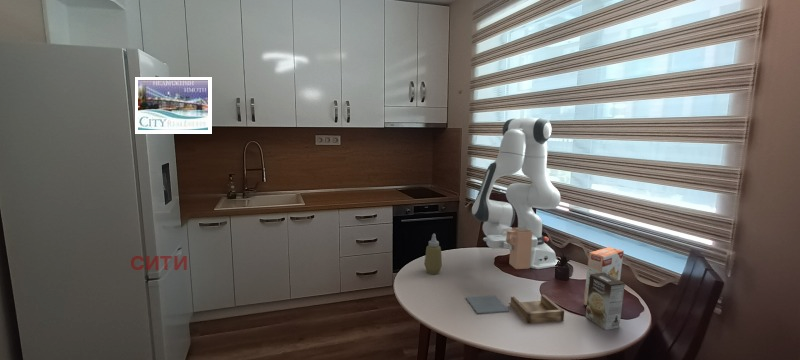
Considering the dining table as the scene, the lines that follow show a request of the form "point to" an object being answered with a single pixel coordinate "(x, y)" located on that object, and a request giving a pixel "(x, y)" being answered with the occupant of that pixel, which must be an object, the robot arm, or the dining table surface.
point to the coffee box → (605, 300)
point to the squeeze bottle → (433, 256)
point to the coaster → (486, 304)
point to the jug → (520, 247)
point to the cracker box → (604, 265)
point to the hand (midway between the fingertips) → (521, 247)
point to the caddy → (538, 310)
